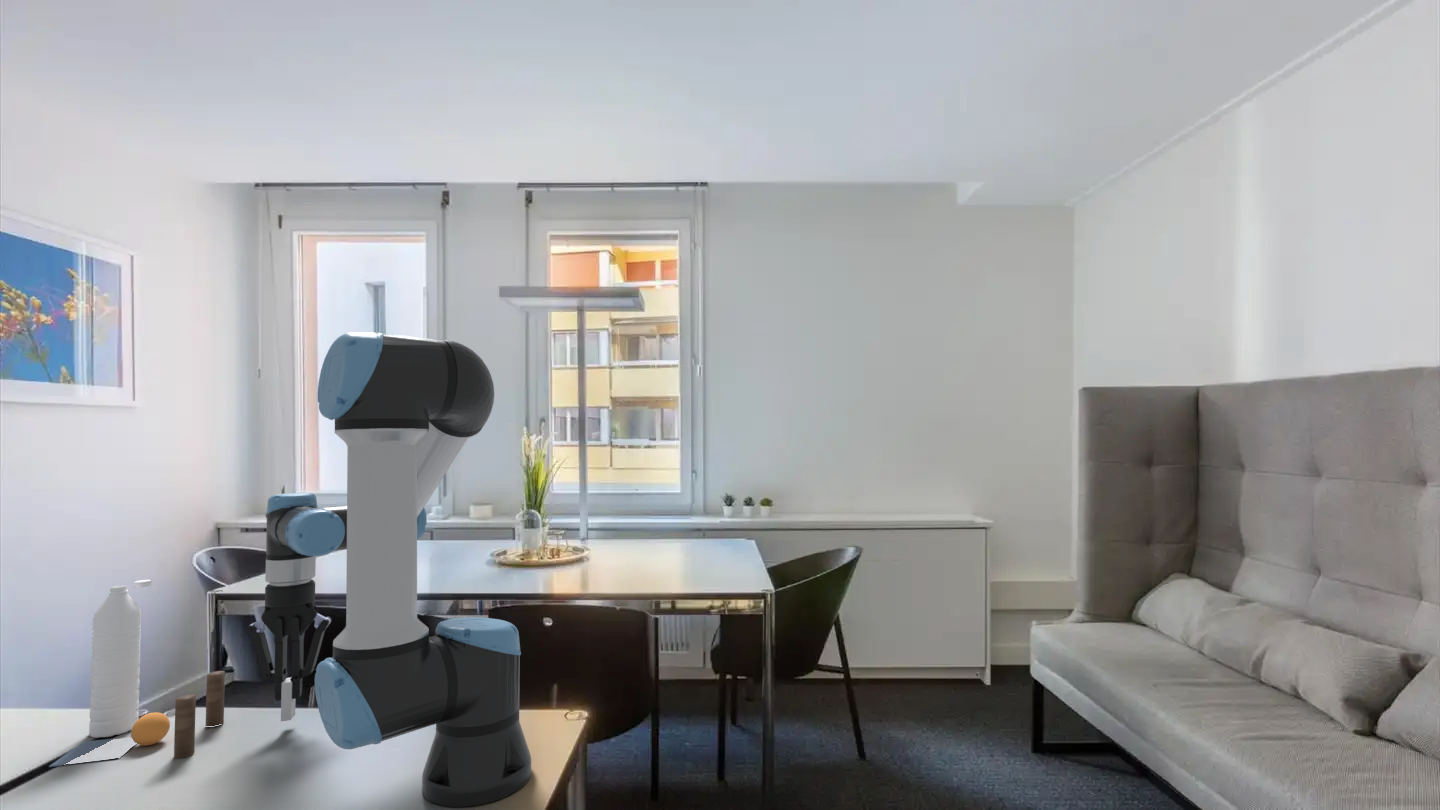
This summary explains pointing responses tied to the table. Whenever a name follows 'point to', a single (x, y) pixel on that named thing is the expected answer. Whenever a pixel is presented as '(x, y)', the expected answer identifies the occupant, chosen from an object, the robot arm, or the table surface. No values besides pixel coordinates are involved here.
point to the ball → (150, 728)
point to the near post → (184, 726)
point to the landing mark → (79, 751)
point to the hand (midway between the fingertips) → (288, 717)
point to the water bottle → (115, 663)
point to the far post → (215, 698)
